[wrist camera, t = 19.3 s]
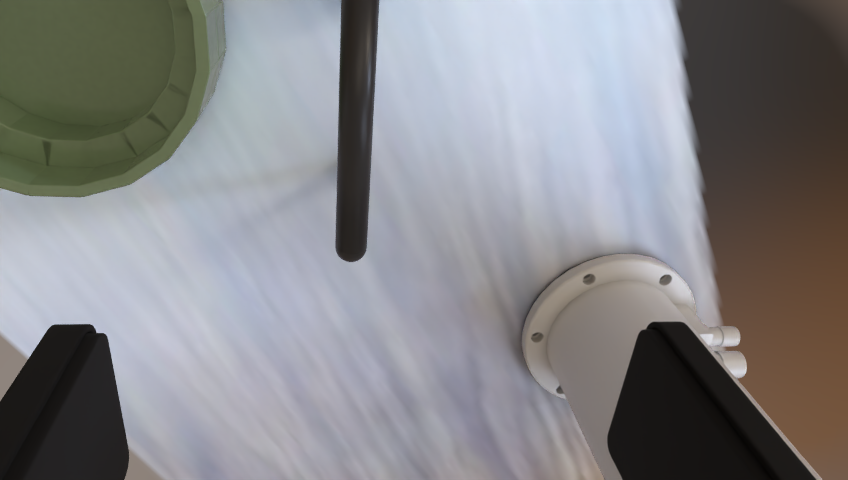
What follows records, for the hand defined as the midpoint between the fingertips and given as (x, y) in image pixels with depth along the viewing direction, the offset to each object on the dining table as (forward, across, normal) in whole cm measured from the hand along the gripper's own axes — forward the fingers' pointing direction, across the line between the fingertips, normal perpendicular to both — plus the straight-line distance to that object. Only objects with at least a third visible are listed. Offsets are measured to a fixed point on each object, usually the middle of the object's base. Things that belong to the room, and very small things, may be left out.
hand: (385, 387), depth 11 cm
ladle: (+26, 0, -1) cm, 26 cm away
